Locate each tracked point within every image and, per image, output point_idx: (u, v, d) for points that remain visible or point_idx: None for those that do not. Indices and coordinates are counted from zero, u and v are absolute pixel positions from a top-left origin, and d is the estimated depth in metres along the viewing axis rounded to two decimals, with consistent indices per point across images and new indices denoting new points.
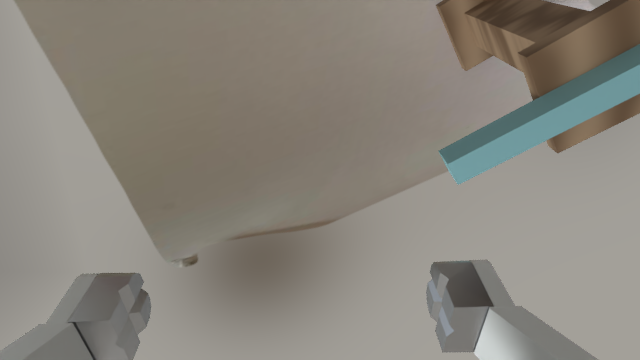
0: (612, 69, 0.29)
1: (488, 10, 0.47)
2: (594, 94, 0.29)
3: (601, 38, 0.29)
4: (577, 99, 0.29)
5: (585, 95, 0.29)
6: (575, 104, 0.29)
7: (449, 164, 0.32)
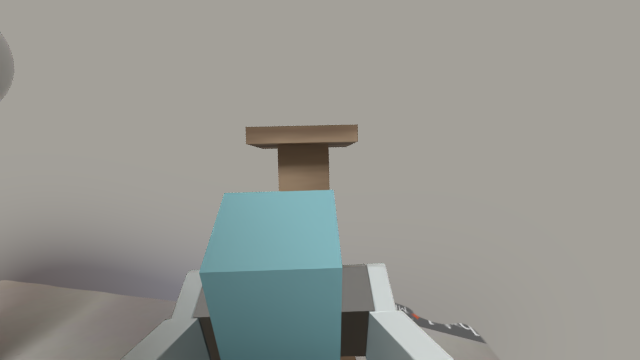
0: None
1: None
2: None
3: None
4: None
5: None
6: None
7: None
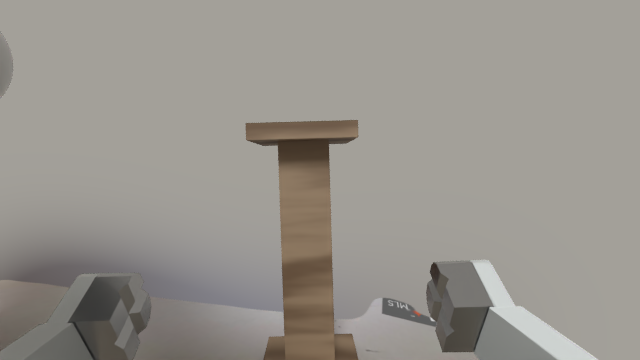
0: None
1: None
2: None
3: None
4: None
5: None
6: None
7: None
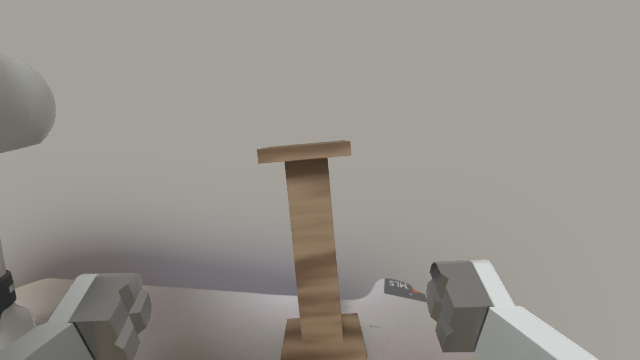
0: None
1: None
2: None
3: None
4: None
5: None
6: None
7: None
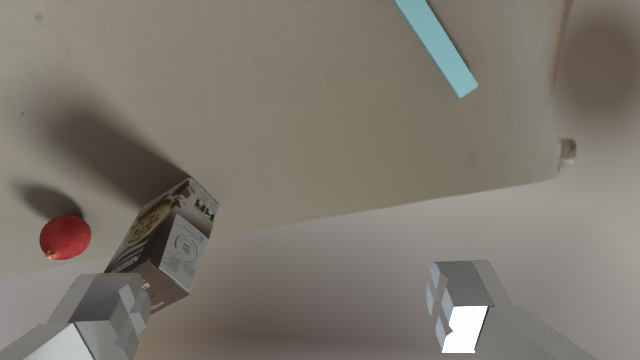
0: None
1: None
2: (410, 12, 0.40)
3: None
4: (413, 24, 0.41)
5: (410, 20, 0.40)
6: (417, 24, 0.41)
7: (460, 97, 0.45)
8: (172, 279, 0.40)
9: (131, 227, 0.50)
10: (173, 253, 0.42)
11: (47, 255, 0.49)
